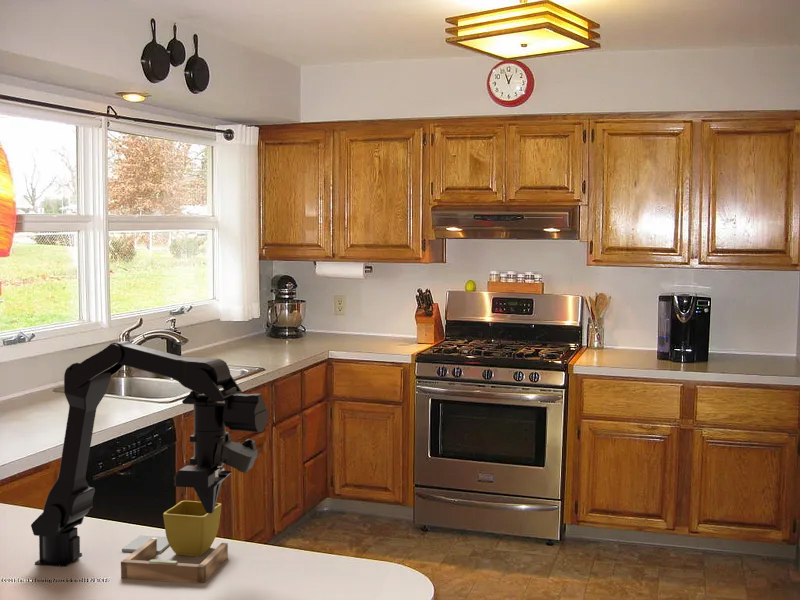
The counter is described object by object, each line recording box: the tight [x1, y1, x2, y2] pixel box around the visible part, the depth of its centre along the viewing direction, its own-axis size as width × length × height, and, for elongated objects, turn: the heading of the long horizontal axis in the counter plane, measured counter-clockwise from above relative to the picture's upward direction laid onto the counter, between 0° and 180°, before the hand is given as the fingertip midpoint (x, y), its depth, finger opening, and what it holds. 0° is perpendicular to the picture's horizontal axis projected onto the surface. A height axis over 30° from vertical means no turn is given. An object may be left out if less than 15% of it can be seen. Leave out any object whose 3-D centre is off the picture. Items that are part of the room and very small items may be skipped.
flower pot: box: [162, 500, 222, 557], centre depth 168 cm, size 9×9×9 cm
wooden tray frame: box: [120, 539, 229, 584], centre depth 160 cm, size 13×16×3 cm
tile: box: [121, 535, 170, 555], centre depth 172 cm, size 8×8×1 cm
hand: (210, 512), depth 155 cm, fingers closed
